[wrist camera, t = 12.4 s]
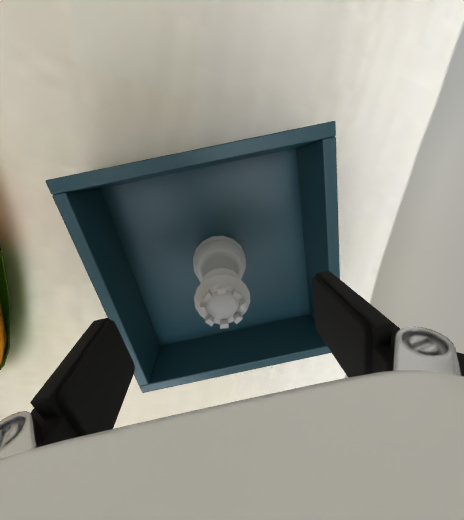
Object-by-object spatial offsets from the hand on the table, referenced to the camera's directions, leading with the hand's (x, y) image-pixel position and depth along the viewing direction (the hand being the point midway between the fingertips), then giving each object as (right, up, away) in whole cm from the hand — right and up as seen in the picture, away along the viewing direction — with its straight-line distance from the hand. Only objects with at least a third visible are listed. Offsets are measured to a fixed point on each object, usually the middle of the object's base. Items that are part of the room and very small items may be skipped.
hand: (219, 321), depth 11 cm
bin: (-1, +3, +10) cm, 10 cm away
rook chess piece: (-1, +3, +9) cm, 10 cm away
